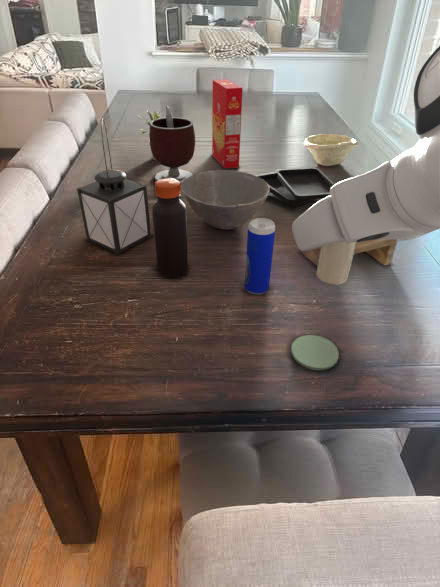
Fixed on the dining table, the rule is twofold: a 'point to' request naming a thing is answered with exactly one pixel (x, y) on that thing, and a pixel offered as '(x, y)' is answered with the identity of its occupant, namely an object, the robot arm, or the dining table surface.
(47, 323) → the dining table surface
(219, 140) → the food packaging
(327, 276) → the cylinder
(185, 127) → the mate gourd
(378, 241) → the wooden stand
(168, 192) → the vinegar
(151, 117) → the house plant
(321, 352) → the coaster
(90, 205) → the lantern
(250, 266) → the beverage can
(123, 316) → the dining table surface
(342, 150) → the bowl
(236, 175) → the ceramic bowl
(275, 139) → the dining table surface
